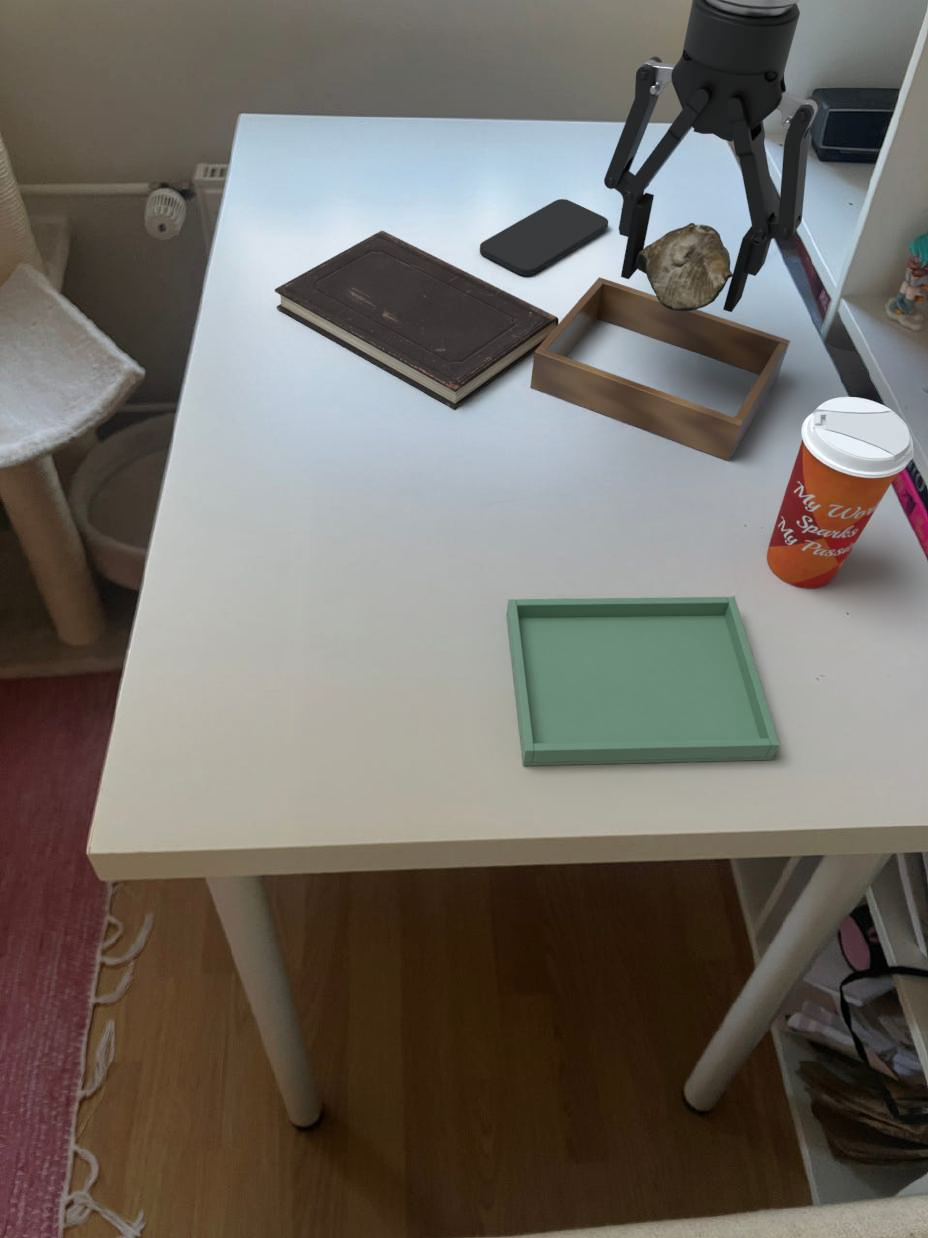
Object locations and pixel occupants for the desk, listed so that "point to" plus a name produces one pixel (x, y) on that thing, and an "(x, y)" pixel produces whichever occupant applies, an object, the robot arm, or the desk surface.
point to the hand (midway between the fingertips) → (680, 286)
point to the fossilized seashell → (686, 267)
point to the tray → (636, 682)
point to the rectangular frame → (647, 403)
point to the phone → (543, 237)
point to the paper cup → (835, 487)
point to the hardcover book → (417, 316)
